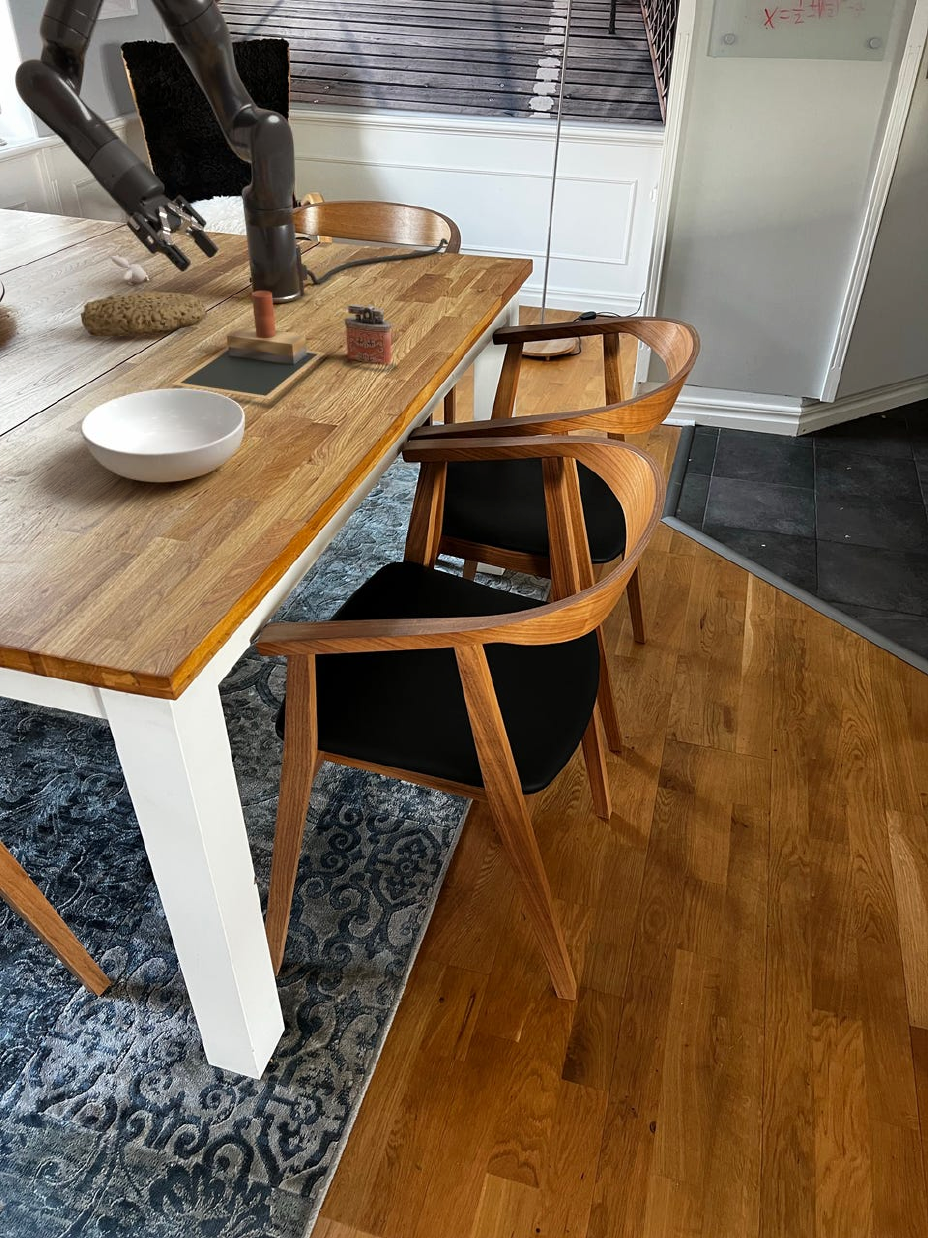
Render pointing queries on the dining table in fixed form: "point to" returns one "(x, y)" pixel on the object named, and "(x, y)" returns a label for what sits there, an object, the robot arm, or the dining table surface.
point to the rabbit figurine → (130, 270)
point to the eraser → (266, 336)
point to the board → (245, 374)
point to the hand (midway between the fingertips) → (201, 260)
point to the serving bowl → (164, 433)
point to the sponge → (141, 314)
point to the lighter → (368, 335)
